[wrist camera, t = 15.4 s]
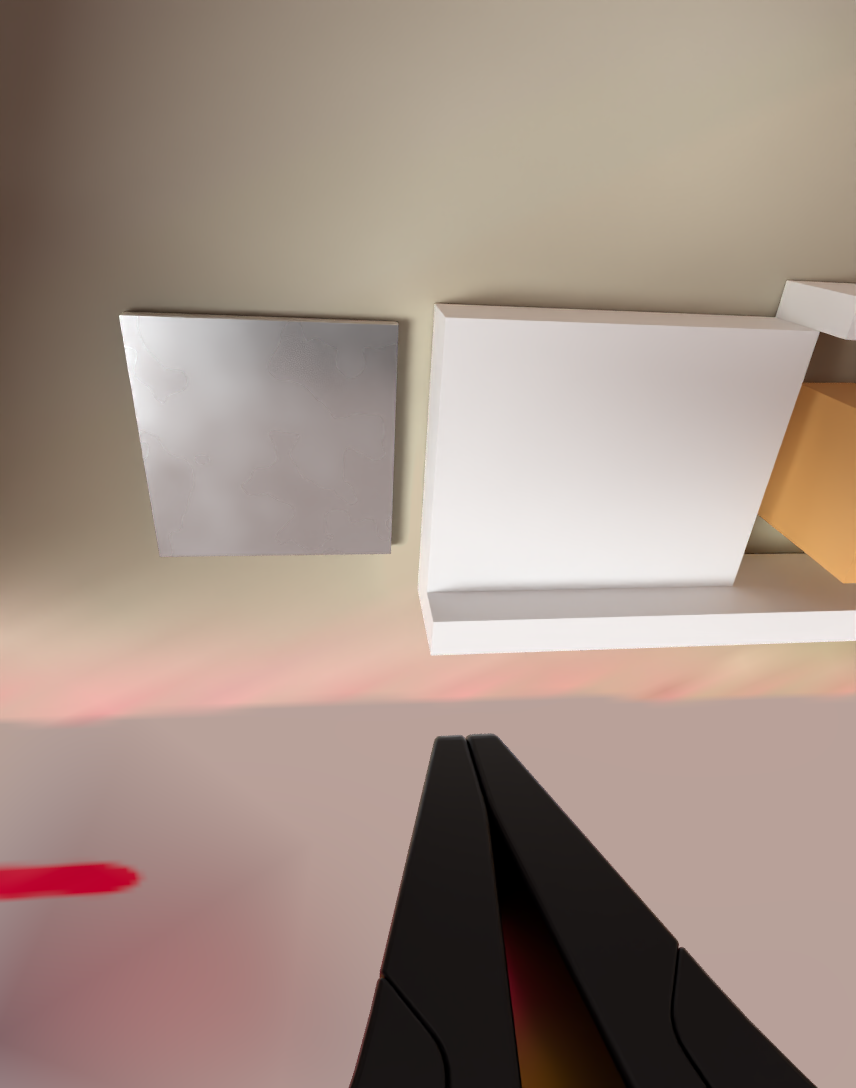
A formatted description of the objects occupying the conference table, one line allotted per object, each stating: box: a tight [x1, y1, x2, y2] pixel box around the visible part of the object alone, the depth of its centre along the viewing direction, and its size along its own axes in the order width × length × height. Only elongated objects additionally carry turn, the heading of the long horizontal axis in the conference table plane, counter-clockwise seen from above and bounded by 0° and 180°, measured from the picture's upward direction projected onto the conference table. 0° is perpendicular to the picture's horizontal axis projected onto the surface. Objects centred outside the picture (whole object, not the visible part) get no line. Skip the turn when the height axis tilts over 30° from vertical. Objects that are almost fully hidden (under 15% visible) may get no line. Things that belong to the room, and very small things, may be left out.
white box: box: [418, 280, 856, 655], centre depth 19 cm, size 10×18×4 cm, turn 87°
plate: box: [119, 312, 399, 557], centre depth 19 cm, size 7×7×1 cm
